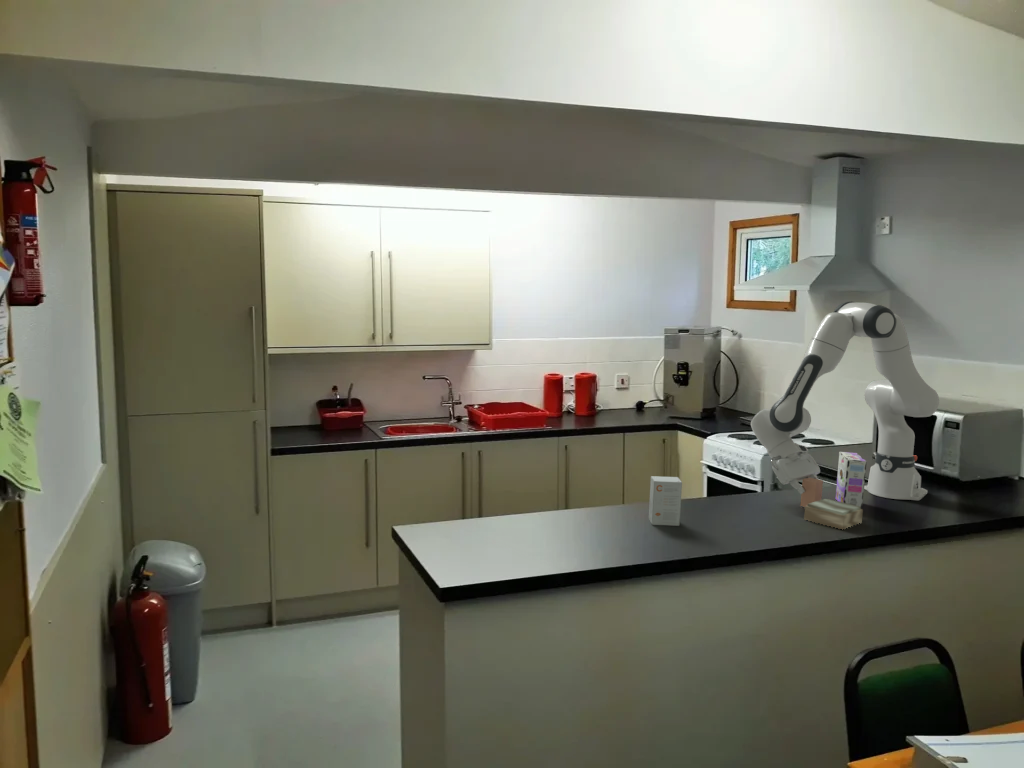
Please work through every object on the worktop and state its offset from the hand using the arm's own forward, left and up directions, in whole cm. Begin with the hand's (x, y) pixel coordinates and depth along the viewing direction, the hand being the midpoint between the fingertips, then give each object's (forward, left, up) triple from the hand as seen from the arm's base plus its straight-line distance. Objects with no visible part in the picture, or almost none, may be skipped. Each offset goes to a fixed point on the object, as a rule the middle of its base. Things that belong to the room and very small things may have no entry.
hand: (811, 490), depth 256 cm
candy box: (-13, +6, -6) cm, 15 cm away
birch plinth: (+9, +12, -5) cm, 16 cm away
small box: (+53, -17, -6) cm, 56 cm away
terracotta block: (0, 0, -5) cm, 6 cm away
